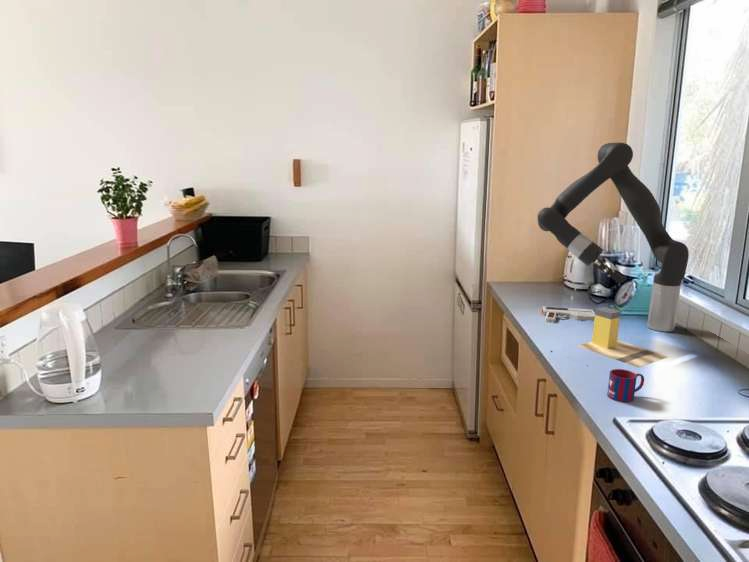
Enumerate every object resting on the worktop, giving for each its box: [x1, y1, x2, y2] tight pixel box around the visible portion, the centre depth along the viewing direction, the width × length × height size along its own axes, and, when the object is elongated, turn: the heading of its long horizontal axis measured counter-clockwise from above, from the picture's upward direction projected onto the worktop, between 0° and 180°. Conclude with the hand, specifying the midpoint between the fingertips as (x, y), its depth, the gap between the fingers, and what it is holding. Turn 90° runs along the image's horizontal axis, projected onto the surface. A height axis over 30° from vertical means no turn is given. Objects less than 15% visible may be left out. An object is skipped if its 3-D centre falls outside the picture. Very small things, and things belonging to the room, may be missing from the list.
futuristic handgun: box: [541, 306, 595, 324], centre depth 229 cm, size 3×20×15 cm
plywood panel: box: [577, 339, 669, 368], centre depth 191 cm, size 17×22×1 cm
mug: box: [606, 368, 645, 403], centre depth 159 cm, size 7×10×7 cm
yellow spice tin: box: [591, 306, 622, 349], centre depth 196 cm, size 5×6×12 cm
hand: (623, 280), depth 196 cm, fingers open, 8 cm apart
